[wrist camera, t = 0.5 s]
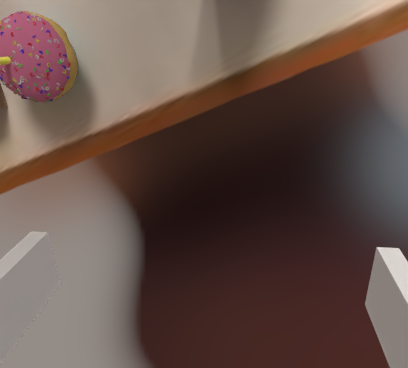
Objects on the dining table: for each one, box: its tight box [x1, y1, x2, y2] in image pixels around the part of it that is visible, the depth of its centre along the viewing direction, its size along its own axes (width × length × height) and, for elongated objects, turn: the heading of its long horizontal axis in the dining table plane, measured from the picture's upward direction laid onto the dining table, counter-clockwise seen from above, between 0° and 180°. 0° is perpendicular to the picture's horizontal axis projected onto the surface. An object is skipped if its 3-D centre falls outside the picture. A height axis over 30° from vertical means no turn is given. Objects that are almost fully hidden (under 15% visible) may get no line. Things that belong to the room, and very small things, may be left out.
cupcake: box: [0, 11, 78, 102], centre depth 33 cm, size 9×8×12 cm
